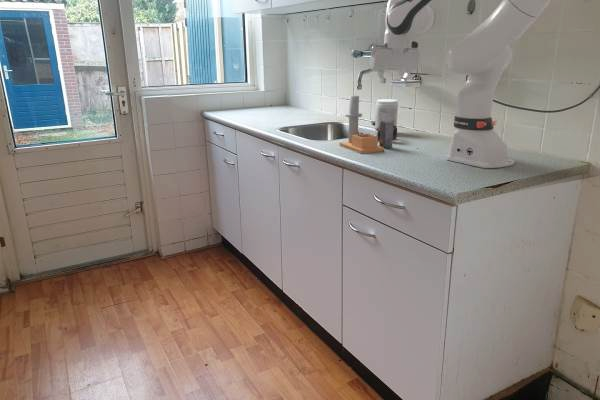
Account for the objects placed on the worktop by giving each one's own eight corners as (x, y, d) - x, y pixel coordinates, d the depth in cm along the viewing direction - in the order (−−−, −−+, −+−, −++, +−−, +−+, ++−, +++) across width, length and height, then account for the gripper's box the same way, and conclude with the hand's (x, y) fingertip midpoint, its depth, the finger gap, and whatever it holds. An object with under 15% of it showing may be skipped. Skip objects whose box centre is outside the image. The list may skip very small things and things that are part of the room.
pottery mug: (368, 141, 188) (373, 123, 189) (385, 149, 193) (390, 131, 193) (386, 138, 178) (391, 119, 179) (404, 147, 182) (409, 128, 183)
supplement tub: (376, 130, 208) (378, 98, 204) (397, 131, 205) (399, 99, 201) (373, 134, 200) (374, 101, 195) (394, 135, 197) (396, 101, 192)
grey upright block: (392, 148, 173) (393, 122, 169) (384, 148, 171) (385, 122, 168) (386, 146, 176) (388, 120, 172) (379, 147, 174) (380, 121, 171)
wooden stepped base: (383, 150, 168) (386, 98, 162) (360, 153, 164) (362, 100, 158) (359, 142, 183) (361, 94, 177) (338, 145, 179) (338, 96, 173)
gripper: (376, 43, 156) (374, 84, 161) (424, 43, 164) (420, 82, 169) (367, 43, 162) (365, 82, 166) (413, 43, 169) (410, 81, 174)
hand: (393, 82), depth 168 cm, fingers open, 8 cm apart
